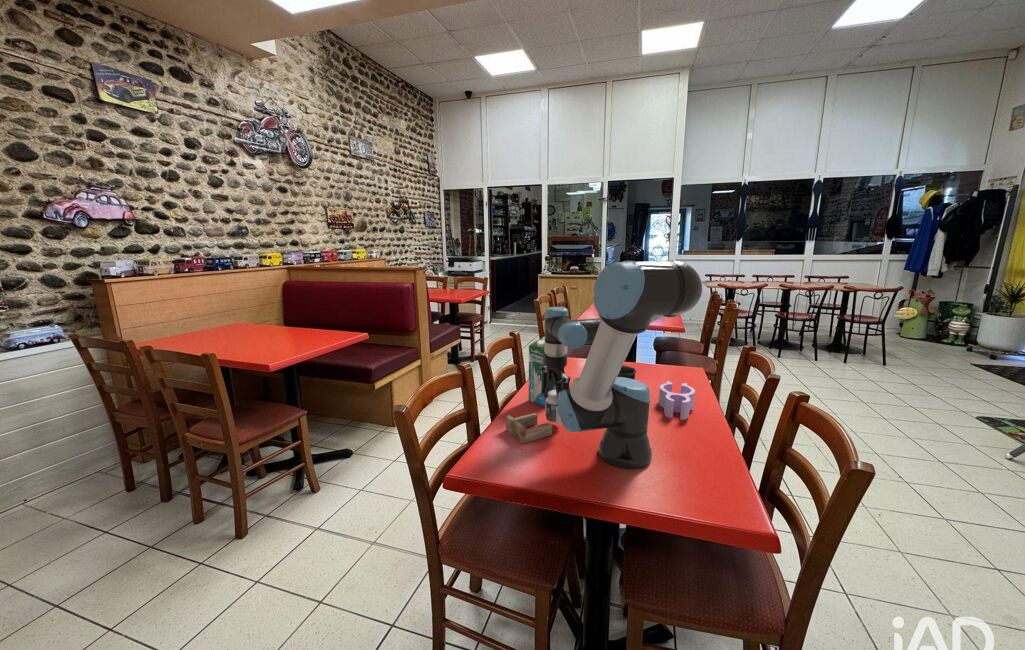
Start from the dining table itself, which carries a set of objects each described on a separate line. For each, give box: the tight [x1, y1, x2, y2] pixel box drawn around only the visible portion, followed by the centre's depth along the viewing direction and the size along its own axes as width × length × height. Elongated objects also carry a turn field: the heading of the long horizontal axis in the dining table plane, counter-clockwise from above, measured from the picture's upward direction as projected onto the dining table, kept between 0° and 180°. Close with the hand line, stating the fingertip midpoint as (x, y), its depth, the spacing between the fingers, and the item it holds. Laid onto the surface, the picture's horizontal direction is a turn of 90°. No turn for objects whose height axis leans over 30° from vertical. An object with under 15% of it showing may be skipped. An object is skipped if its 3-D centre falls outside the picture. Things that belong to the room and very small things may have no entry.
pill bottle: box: [545, 390, 558, 424], centre depth 137 cm, size 6×6×10 cm
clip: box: [658, 380, 696, 421], centre depth 152 cm, size 20×12×7 cm, turn 160°
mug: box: [617, 364, 637, 380], centre depth 161 cm, size 11×15×12 cm
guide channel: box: [505, 412, 553, 444], centre depth 134 cm, size 10×12×5 cm
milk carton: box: [528, 335, 561, 408], centre depth 156 cm, size 9×9×25 cm
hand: (554, 418), depth 138 cm, fingers closed on pill bottle, 6 cm apart
